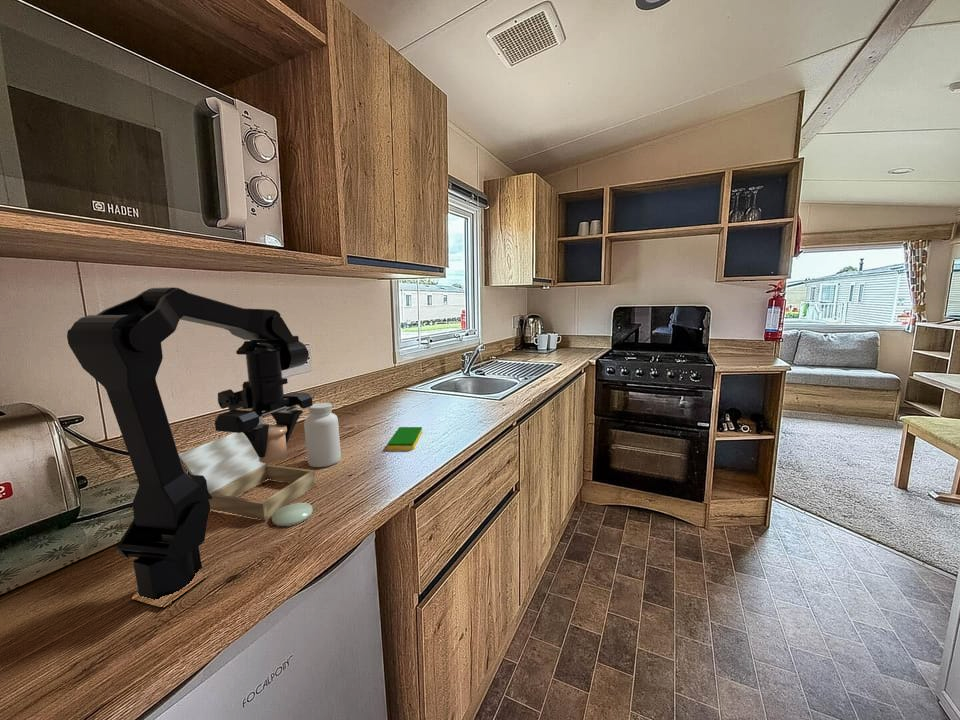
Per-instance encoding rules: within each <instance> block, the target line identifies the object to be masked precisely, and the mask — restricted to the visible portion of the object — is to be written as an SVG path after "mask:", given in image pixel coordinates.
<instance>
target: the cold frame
mask: <svg viewBox="0 0 960 720" xmlns="http://www.w3.org/2000/svg"><path fill="white" fill-rule="evenodd" d="M178 454H179V457H180V461H181V464H182V465H183V466H184V467H185V468H186V470H187V471H188V472H189V475H202V476H204V477H205V479H206V481H207V489H208V492H209V494H210V495H211V496H212V499H209V502H210V509H213V510H217V511H223V512H228V513H232V514H238V515H242V516H246V517H252V518H257V519H261V520H260V521H262V520H266V519H267V520H269V519H270V518H271V517H272V515H273V514H274V512H276V511H277V510H278V509H280V508H282V507H284V506H286V505H288V504H289V503H290V504H292V503H293V502H294V501H296V500H297V499H299V498H300V497H301V495H302V496H303V495H305V494H306V493H307V492H309V491H310V490H312V489H313V488H315V487H316V486H317V477H316V469H314V470H313V469H305V468H297V467H291V466H290V467H289V466H283V465H282V466H281V465H274V464H268V463H262V462H260V461H259V456H258V455H257V453H256V451H255V450H254V448H253V446H252V444H251V443H250V441H249V439H248V438H247V437H246V435H245V434H244V433H243V432H242V433H235V432H231V433H230V434H228V435H225V436H222V437H220V438H217V439H214V440H212V441H209V442H206V443H204V444H201V445H199V446H197V447H194V448H192V449H189V450H186V451H183V452H181V453H178ZM267 479H271V480H277V481H283V482H282V483H285V482H290V483H289V484H288V485H287V486H285V487H284V488H282V489H281V490H279V491H277V492H276V493H273V494H272V495H270V496H269V497H268V498H266V499H264V500H263V501H262V500H256V499H250V498H244V497H236V496H238V495H239V494H241V493H243V492H245V491H247V490H249V489H250V488H252V487H254V486H256V485H258V484H260V483H262V482H263V481H265V480H267ZM267 481H268V480H267ZM277 481H276V482H277ZM262 484H263V483H262ZM260 485H261V484H260ZM315 485H316V486H315ZM314 486H315V487H314ZM312 487H313V488H312ZM311 488H312V489H311ZM308 490H309V491H308ZM305 492H306V493H305ZM298 497H299V498H298ZM295 499H296V500H295ZM292 501H293V502H292ZM291 502H292V503H291ZM270 516H271V517H270ZM269 517H270V518H269ZM267 520H266V521H267Z"/></svg>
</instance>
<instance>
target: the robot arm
mask: <svg viewBox="0 0 960 720" xmlns="http://www.w3.org/2000/svg"><path fill="white" fill-rule="evenodd" d="M180 320H181V321H185V322H190V323H191V322H192V323H196V324H201V325H204V326H211V327H215V328H220V329H224V330H226V331H229V333H230V334H231V335H233V336H235V337H237V338H240V339H242V340H244V342H243V343H242V345H241V346H240V347H238V348H237V350H236V352H235V353H236V355H241V356H242V355H245V360H246V368H247V379H248V380H246V381H244V382H243V383H242V390H239V391H235V392H234V391H233V390H232V389H226V390H222V391H220V392H218V393H217V403H218V406H219V408H220V409H222V410H224V409H227V408H228V411H226V412H223V413H220V414H218V415H217V416H216V417H215V419H214V425H215V427H214V428H215V431H216V432H226V433H242V432H243V433H244V434H245V436H246V437H247V438H248V440H249V441H250V443H251V444H252V446H253V448H254V450H255V451H256V453H257V455H258V456H259V457H261V458H263V457H265V453H266V448H267V438H268V430H269V425H270V424H267V423H264V422H263V421H264V419H263V418H264V417H265V418H266V417H267V416H269V415H271V416H272V418H273V419H274V421H275V424H283V425H286V426H287V432H286V433H285V436H286V446H287V445H288V442H289V439H290V438H291V436H292V434H293V431H294V428H295V426H296V424H297V422H298V420H299V418H300V416H301V415H302V414H303V413H304V411H303V410H305V409H307V408H308V409H309V407H310V406H313V404H314V403H313V396H311V395H310V393H308V392H297V391H296V392H294V391H290V392H288V393H287V392H286V393H284V392H285V391H284V385H287V384H289V382H288V378H287V377H283V373H282V371H287V370H289V369H294V368H297V367H302V366H304V365H305V364H306V363H307V362H308V361H309V357H310V356H309V355H310V353H309V351H308V348H307V346H306V345H305V344H304V343H303V342H301V341H300V339H299V338H300V337H299V336H298V335H293V334H292V332H291V330H290V329H289V327H288V326H287V324H286V322H285V321H284V319H283V318H282V317H281V313H280V312H279V311H277V310H276V309H267V308H266V309H265V308H243V307H239V306H236V305H233V304H229V303H226V302H223V301H219V300H217V299H216V300H215V299H212V298H208V297H206V296H201V295H199V294H195V293H192V292H188V291H186V290H184V289H182V288H179V287H151V288H148V289H146V290H144V291H142V292H141V293H138V295H136V296H135V297H133V298H130V299H128V300H125V301H123V302H120V303H117V304H115V305H113V306H111V307H108V308H106V309H104V310H103V309H102V311H100V312H98V313H97V314H96V315H95V314H91V315H90V314H89V315H85V316H84V317H83V316H82V317H80V318H79V319H77V320H76V321H75V322H74V323H73V325H72V326H71V327H70V329H67V332H66V339H67V344H68V346H69V348H70V350H71V351H72V352H73V354H74V356H75V357H76V359H77V362H79V364H80V366H81V368H82V369H83V370H84V371H85V372H87V374H89V375H90V376H91V377H92V378H93V379H94V380H95V381H97V382H98V383H99V384H100V385H101V386H102V387H104V388H103V389H104V390H105V391H106V393H107V397H108V400H109V402H110V404H111V407H112V410H113V414H114V416H115V419H116V422H117V425H118V427H119V431H120V432H121V433H120V434H121V435H122V439H123V441H124V445H125V448H126V450H127V454H128V457H129V459H130V462H131V464H132V467H133V470H134V473H135V476H136V479H137V481H138V486H137V490H136V492H135V495H134V497H133V500H132V511H133V519H132V521H131V523H130V524H129V526H128V528H127V529H126V531H125V532H124V534H123V535H122V538H121V539H120V540H119V542H118V544H117V546H116V550H117V551H118V553H119V554H120V555H121V556H122V557H123V558H128V557H129V558H130V557H131V558H136V559H134V560H133V561H132V565H133V570H134V575H135V581H136V587H137V592H138V593H139V595H140V596H144V597H147V598H151V599H154V600H155V599H159V598H160V597H162V596H165V595H169V594H173V593H174V592H176V591H179V590H180V589H182V588H183V587H185V586H186V585H187V584H189V583H190V581H192V579H193V578H194V576H195V573H197V572H198V571H199V569H201V568H203V566H202V560H201V552H200V546H201V545H202V544H203V543H205V540H206V532H207V528H208V522H209V516H210V515H209V514H210V513H211V512H210V502H209V499H212V496H211V495H210V494H209V492H208V489H207V481H206V479H205V477H204V476H202V475H191V474H188V473H187V472H186V471H185V470H184V467H183V463H182V462H181V460H180V457H179V454H180V453H179V452H178V449H177V446H176V445H177V444H176V442H175V438H174V434H173V431H172V429H171V425H170V421H169V419H168V416H167V413H166V409H165V406H164V402H163V399H162V396H161V392H160V390H159V386H158V384H157V375H158V372H159V369H160V366H161V365H162V361H163V359H164V357H163V356H164V355H163V348H162V342H164V341H165V340H167V338H169V337H170V336H171V335H172V334H173V333H175V332H176V330H177V327H178V325H179V322H180ZM297 406H299V407H300V408H301V409H303V410H301V409H300V410H299V409H298V407H297ZM241 408H242V409H241ZM249 409H251V410H249ZM201 570H202V569H201Z"/></svg>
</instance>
